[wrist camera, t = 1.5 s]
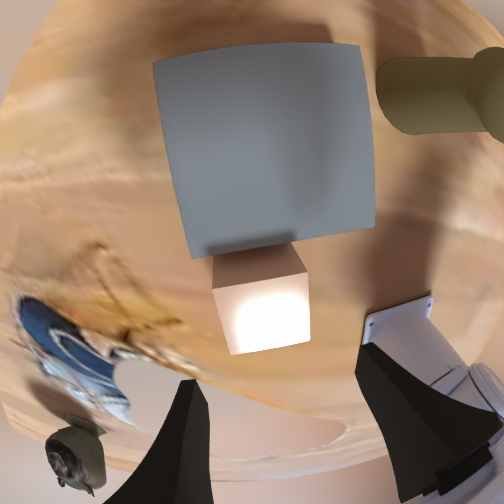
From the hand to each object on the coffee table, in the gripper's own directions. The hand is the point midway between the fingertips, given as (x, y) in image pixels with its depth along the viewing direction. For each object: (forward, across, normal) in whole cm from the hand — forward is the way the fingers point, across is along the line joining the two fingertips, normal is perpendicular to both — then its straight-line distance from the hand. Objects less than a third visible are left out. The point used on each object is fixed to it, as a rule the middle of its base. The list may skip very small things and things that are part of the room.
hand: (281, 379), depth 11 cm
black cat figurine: (+10, +29, +22) cm, 38 cm away
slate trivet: (+10, -2, -9) cm, 13 cm away
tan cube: (+10, 0, 0) cm, 10 cm away
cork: (+10, -13, -12) cm, 20 cm away
